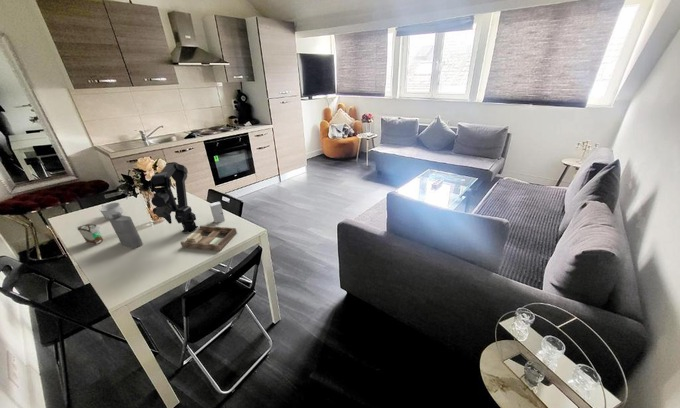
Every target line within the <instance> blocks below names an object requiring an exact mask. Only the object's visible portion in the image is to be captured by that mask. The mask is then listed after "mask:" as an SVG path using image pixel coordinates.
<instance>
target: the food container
mask: <svg viewBox="0 0 680 408" xmlns="http://www.w3.org/2000/svg"><path fill="white" fill-rule="evenodd" d="M76 228H77V231H78V232H79V233H80V235H82V237H83V239H84V240H85V242H86V243H87V244H91V245H96V246H98V245H100V244H102V242H103V241H104V239H103V236H102V234H101V233H100V230H99V229H100V227H99V225H98V224H96V223H86V224H82V225H79V226H77V227H76Z"/></svg>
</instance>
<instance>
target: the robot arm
mask: <svg viewBox="0 0 680 408" xmlns="http://www.w3.org/2000/svg"><path fill="white" fill-rule="evenodd" d="M187 178H188V168H187V167H186V166H185V165H184V164H180V163H178V162H175V161H173V162H166V163H165V166H164V167H163V168H162V170H161V171H160V172H159V173H155V174H153V175H152V176H151V178H150V189H151V190H150V191H151V193H153V194H152V195H153V197H152V198H151V204H152V205H153V206H154V208H153V209H152V214H153V215H156V216H157V217H158V218H163V219H165V220H166V222H168V224H170V225H171V224H173V223H172V216H171V214H172V213H173V212H174V213H175V214H174V218H175V221H176V222H177V223H178V224H181V225H182V228H183V229H182V231H181V232H183V233H194V231H196V230H197V228H199V226H198V225H197V224H196V221H197V218H196V217H197V216H196V214H195V213H193V212H192V207H191V206H189V205H188V198H187V197H188V196H187V189H186V182H185V181H186V180H187ZM172 179H173V181H174V182H175V190H176V197H174V194H173V191H172V188H171V187H172ZM176 201H177V202H176Z"/></svg>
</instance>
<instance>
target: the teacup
mask: <svg viewBox="0 0 680 408" xmlns="http://www.w3.org/2000/svg"><path fill="white" fill-rule="evenodd" d="M98 209H99V212H100V213H101V215H102V216H103V217H104V218H105V219H108V216H109V215H111V214H113V213H115V212H120V214H121V215H122V214H123V212H124V210H123V208H122V206H121V203H120V202H117V201H116V202H111V203H107V204H102V205H101V207H100V208H98Z"/></svg>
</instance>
